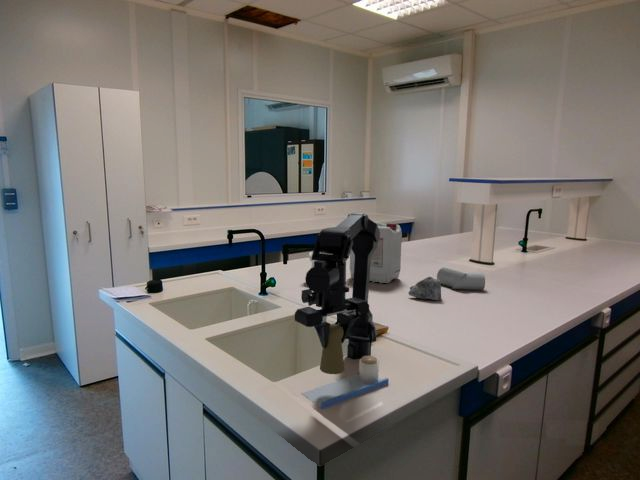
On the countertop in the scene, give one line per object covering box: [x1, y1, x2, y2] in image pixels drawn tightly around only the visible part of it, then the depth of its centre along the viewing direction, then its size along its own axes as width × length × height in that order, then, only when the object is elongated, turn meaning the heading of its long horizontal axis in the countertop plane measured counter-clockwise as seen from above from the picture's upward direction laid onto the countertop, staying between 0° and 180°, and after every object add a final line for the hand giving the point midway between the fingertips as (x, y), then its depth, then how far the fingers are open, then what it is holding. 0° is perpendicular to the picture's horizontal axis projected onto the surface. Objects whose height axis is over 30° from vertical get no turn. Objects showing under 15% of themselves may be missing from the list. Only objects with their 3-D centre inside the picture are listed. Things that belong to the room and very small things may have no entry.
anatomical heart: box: [305, 251, 324, 276], centre depth 220 cm, size 10×11×15 cm
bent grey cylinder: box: [436, 266, 486, 291], centre depth 213 cm, size 18×11×20 cm
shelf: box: [301, 372, 390, 410], centre depth 108 cm, size 21×9×2 cm, turn 127°
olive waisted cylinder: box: [319, 323, 345, 375], centre depth 105 cm, size 6×6×11 cm
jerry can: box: [349, 221, 403, 284], centre depth 227 cm, size 24×19×30 cm
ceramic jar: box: [358, 355, 380, 384], centre depth 113 cm, size 5×5×6 cm
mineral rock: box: [407, 276, 442, 301], centre depth 193 cm, size 13×11×10 cm
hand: (332, 345), depth 105 cm, fingers closed on olive waisted cylinder, 5 cm apart
